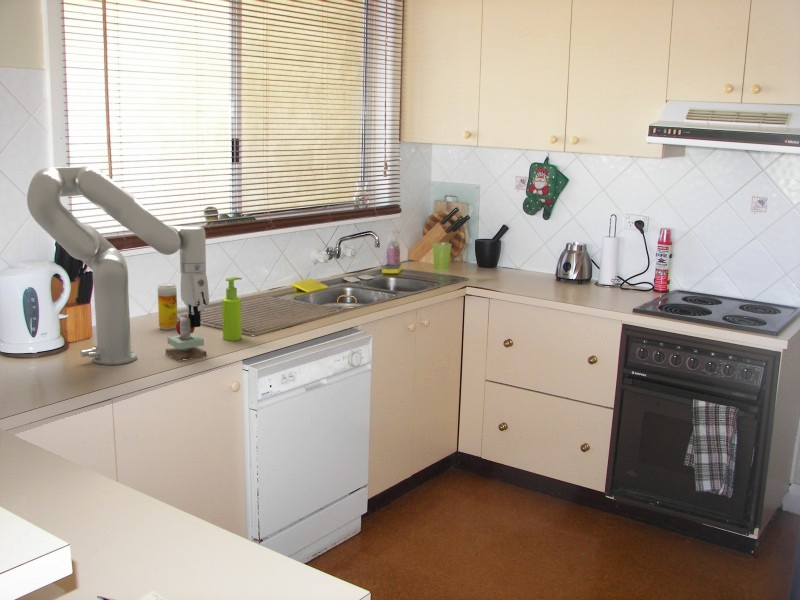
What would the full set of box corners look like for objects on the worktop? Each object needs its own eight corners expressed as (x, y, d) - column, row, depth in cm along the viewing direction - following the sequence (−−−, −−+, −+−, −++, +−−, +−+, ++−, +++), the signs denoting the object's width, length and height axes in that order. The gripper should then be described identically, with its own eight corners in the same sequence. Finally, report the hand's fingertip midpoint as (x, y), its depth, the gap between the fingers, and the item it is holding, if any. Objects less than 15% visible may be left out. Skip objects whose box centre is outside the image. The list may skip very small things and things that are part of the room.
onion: (177, 341, 277) (176, 317, 276) (175, 336, 283) (174, 313, 281) (196, 340, 280) (195, 316, 278) (193, 335, 285) (192, 311, 283)
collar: (179, 349, 257) (179, 343, 257) (167, 343, 263) (167, 337, 263) (203, 345, 262) (203, 339, 262) (192, 339, 268) (191, 333, 268)
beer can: (172, 330, 290) (171, 287, 286) (155, 329, 291) (154, 285, 287) (180, 326, 295) (179, 283, 292) (164, 324, 297) (162, 282, 293)
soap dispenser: (247, 337, 284) (246, 277, 280) (232, 341, 279) (231, 280, 274) (234, 334, 288) (233, 275, 283) (219, 338, 282) (217, 278, 277)
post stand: (178, 361, 257) (177, 323, 255) (165, 353, 264) (164, 317, 261) (206, 356, 263) (205, 319, 260) (193, 349, 270) (192, 313, 267)
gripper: (216, 270, 256) (217, 330, 260) (193, 262, 267) (194, 319, 271) (193, 272, 251) (194, 333, 256) (170, 264, 263) (172, 323, 267)
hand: (194, 326), depth 263 cm, fingers closed
